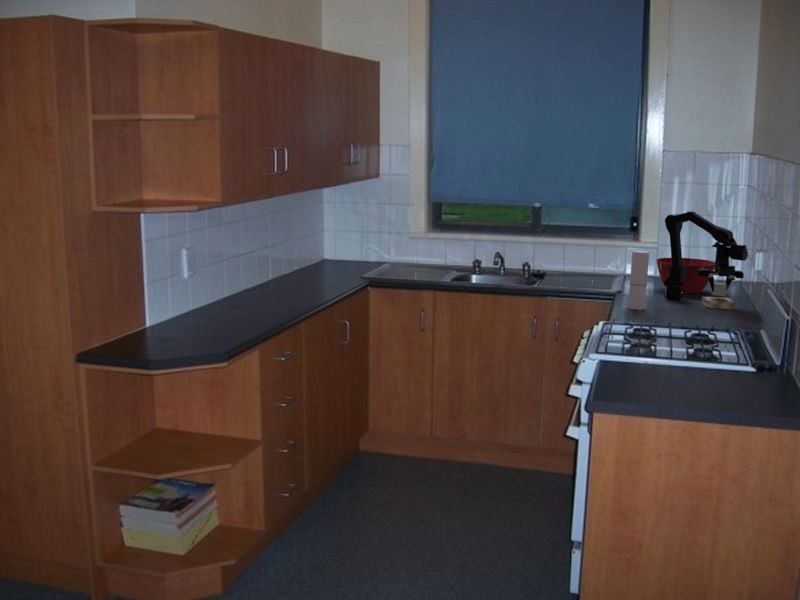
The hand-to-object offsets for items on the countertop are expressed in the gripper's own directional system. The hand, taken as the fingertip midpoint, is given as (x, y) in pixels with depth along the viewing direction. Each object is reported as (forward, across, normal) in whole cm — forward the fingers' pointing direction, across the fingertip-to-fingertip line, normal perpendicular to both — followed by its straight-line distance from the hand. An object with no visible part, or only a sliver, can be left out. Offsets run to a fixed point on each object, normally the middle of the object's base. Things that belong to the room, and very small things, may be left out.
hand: (718, 292), depth 403 cm
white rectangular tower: (+7, -38, -17) cm, 42 cm away
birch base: (+6, 0, 0) cm, 6 cm away
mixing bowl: (+7, -9, +36) cm, 38 cm away
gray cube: (+1, 0, 0) cm, 1 cm away
